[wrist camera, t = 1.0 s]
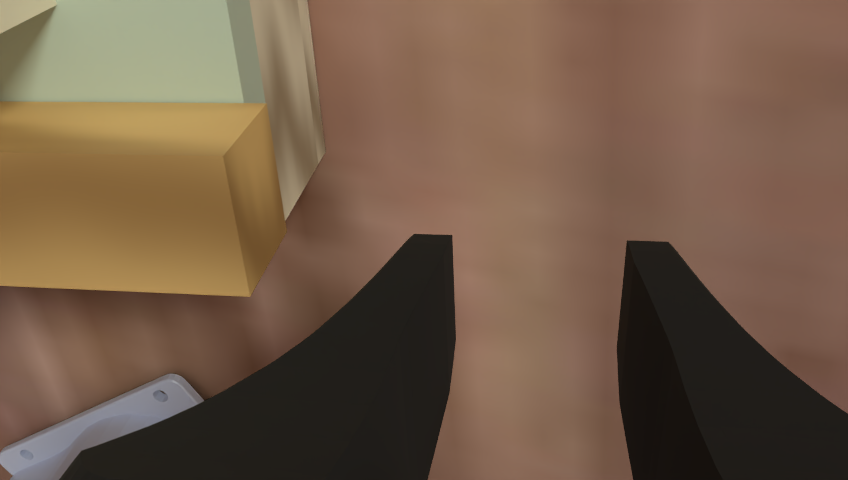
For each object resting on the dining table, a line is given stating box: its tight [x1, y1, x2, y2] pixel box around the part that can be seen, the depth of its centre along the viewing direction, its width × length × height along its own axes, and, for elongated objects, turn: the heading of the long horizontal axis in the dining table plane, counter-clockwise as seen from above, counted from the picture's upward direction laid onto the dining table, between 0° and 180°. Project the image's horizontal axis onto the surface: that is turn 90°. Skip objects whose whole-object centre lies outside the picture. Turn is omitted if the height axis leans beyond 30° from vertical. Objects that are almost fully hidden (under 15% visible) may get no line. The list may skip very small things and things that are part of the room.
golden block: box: [0, 101, 287, 297], centre depth 17 cm, size 3×11×2 cm, turn 93°
